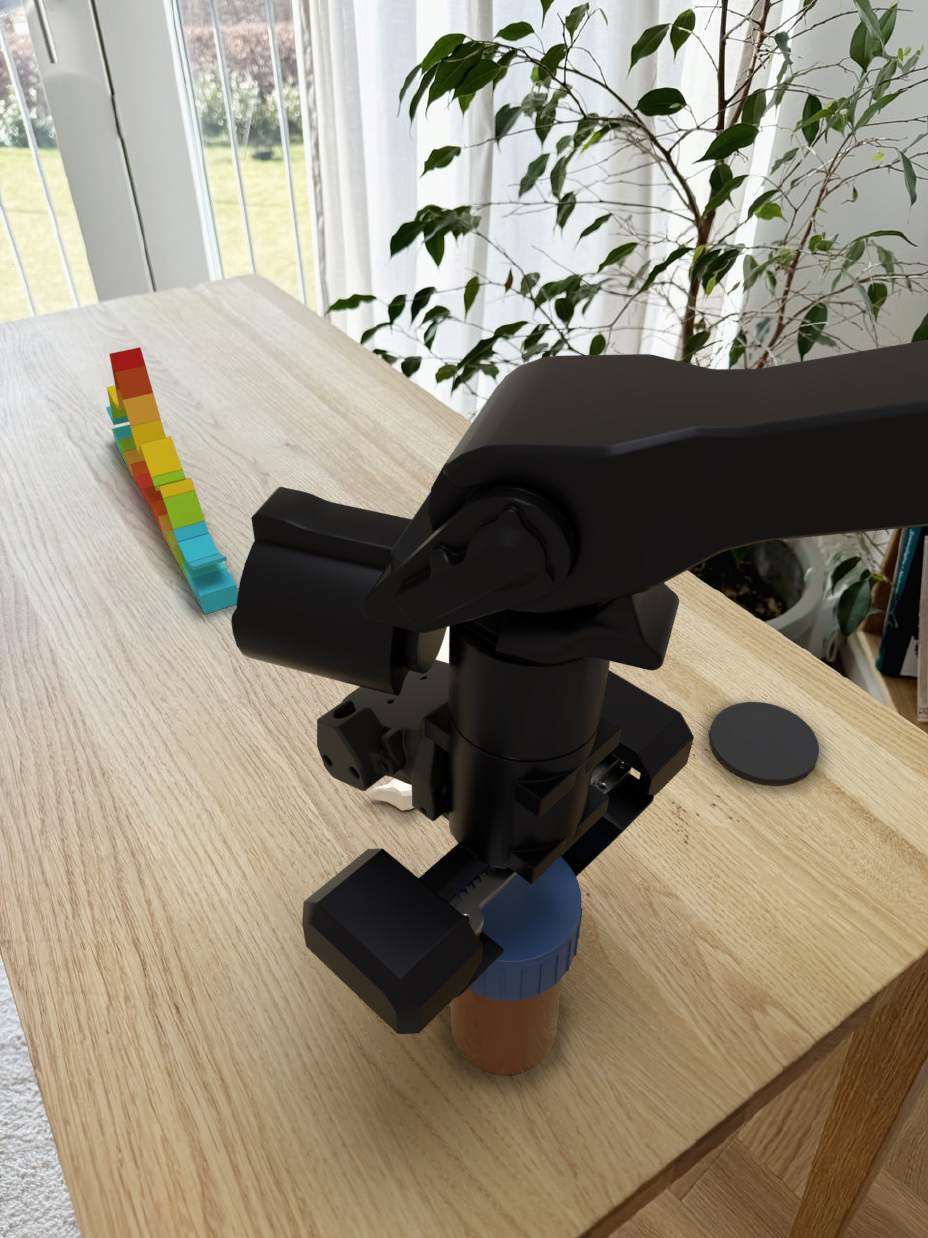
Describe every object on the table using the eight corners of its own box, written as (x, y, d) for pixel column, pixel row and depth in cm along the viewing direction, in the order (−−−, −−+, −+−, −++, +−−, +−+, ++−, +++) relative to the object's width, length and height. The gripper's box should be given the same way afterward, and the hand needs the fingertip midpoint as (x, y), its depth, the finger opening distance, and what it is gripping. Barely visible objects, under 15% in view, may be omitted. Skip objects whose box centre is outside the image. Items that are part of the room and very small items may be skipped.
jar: (562, 984, 53) (576, 862, 46) (548, 1085, 49) (561, 969, 42) (462, 965, 54) (460, 843, 47) (440, 1063, 50) (434, 946, 43)
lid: (500, 852, 50) (501, 811, 48) (606, 931, 46) (612, 891, 44) (406, 939, 46) (402, 899, 44) (514, 1032, 42) (516, 994, 40)
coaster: (813, 715, 69) (815, 709, 68) (821, 793, 63) (823, 787, 63) (709, 701, 70) (710, 695, 69) (708, 776, 64) (709, 770, 64)
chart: (243, 602, 79) (210, 438, 69) (204, 614, 78) (165, 449, 68) (148, 438, 99) (112, 294, 90) (116, 445, 98) (77, 301, 89)
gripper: (521, 514, 45) (505, 740, 56) (185, 726, 35) (241, 957, 45) (729, 623, 40) (668, 852, 50) (403, 916, 29) (411, 1130, 39)
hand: (504, 933), depth 46 cm, fingers closed on lid, 6 cm apart
